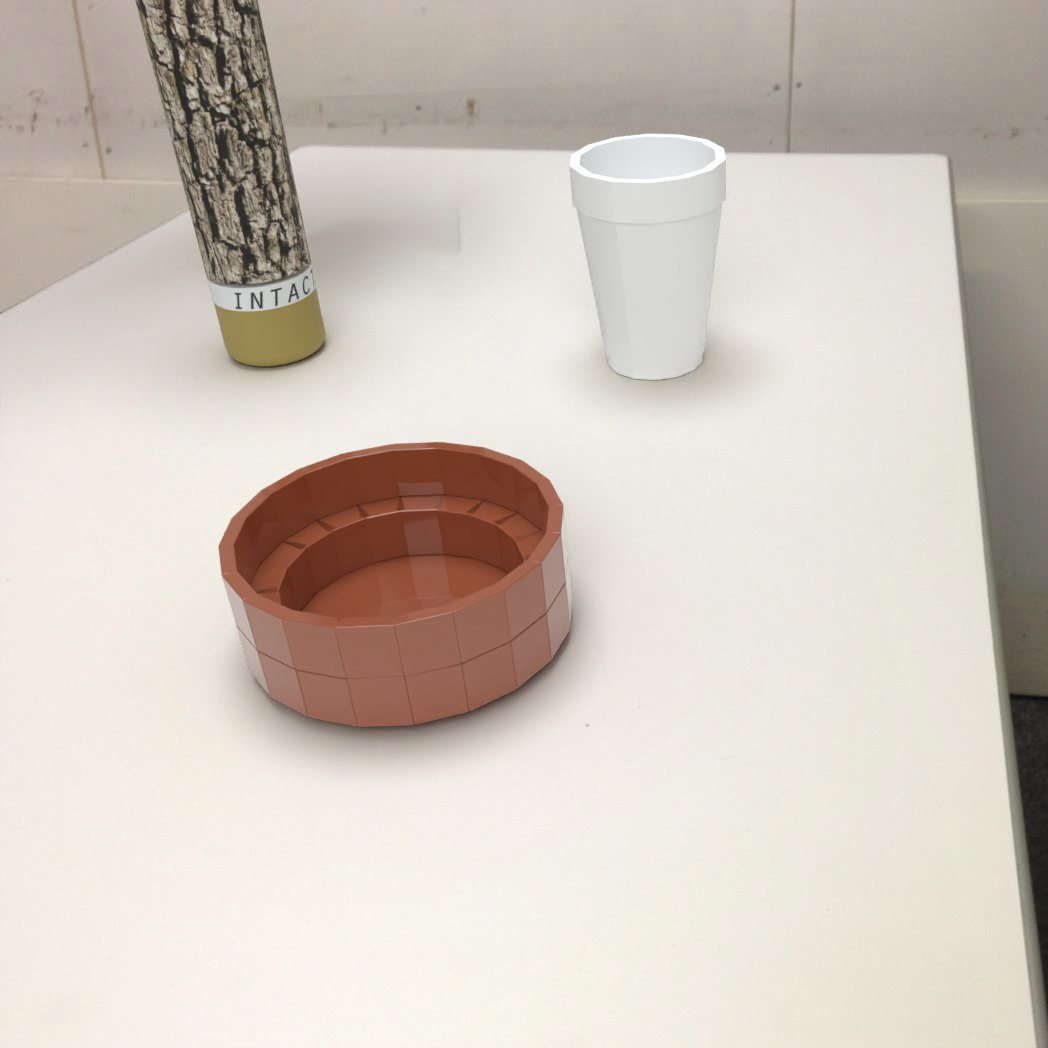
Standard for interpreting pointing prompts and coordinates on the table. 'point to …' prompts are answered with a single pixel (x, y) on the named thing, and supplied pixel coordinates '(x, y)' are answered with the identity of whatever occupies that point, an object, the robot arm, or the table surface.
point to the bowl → (399, 582)
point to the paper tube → (236, 174)
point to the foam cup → (650, 246)
